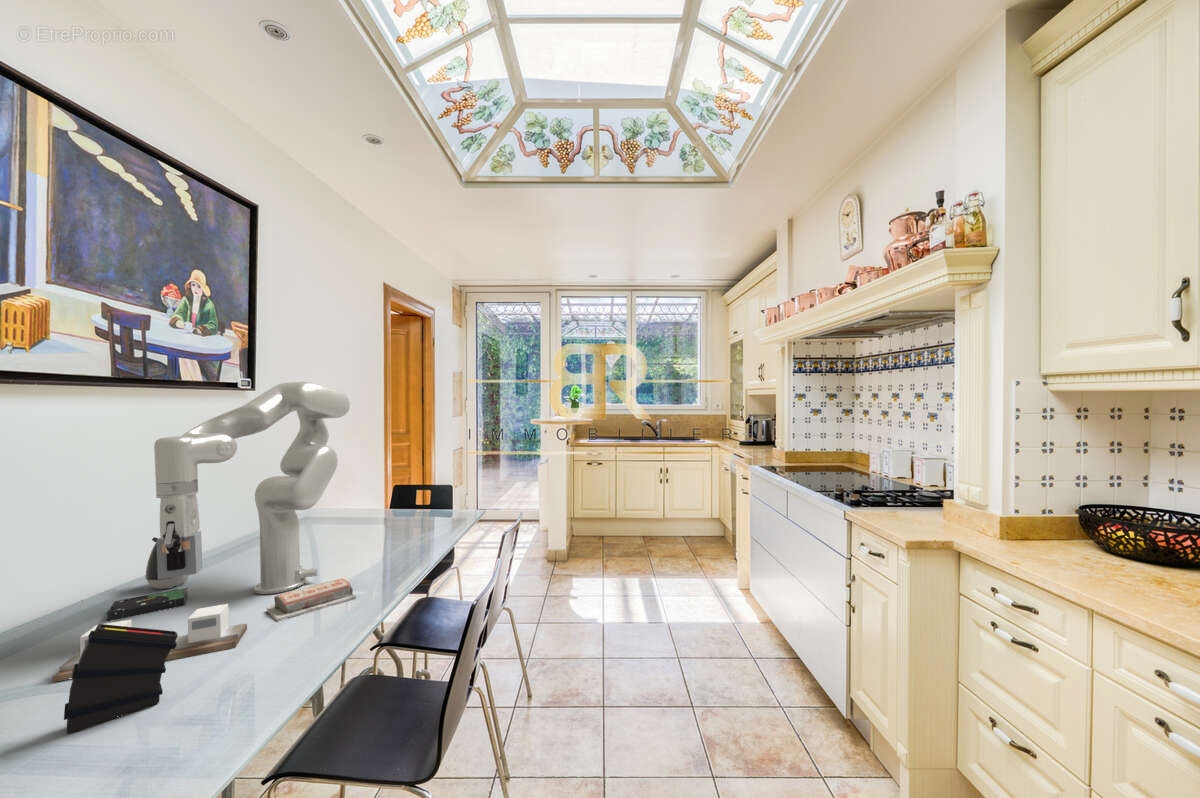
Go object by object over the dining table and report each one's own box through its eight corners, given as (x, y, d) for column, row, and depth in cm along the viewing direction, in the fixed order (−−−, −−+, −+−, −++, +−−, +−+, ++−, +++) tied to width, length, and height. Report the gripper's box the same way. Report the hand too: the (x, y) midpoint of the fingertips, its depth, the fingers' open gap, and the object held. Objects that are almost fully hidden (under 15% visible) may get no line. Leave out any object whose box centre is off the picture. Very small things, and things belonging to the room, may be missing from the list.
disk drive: (106, 624, 119) (186, 607, 128) (106, 613, 119) (185, 596, 128) (113, 611, 127) (188, 596, 136) (113, 601, 127) (187, 586, 136)
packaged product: (342, 574, 135) (356, 582, 128) (342, 592, 135) (356, 600, 128) (265, 593, 122) (276, 603, 115) (265, 613, 122) (277, 624, 115)
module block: (202, 568, 118) (201, 531, 118) (195, 573, 114) (194, 535, 114) (165, 573, 115) (164, 535, 115) (157, 579, 111) (156, 540, 111)
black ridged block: (35, 725, 75) (95, 622, 80) (142, 725, 83) (189, 632, 89) (34, 736, 72) (95, 629, 77) (143, 734, 81) (192, 638, 86)
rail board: (247, 628, 112) (246, 620, 112) (235, 647, 103) (235, 637, 103) (82, 658, 100) (82, 649, 100) (52, 682, 91) (52, 671, 91)
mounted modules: (228, 626, 109) (228, 603, 109) (220, 637, 103) (219, 614, 103) (96, 649, 99) (96, 625, 100) (79, 663, 94) (79, 637, 94)
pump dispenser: (171, 580, 150) (170, 530, 150) (200, 580, 148) (199, 530, 149) (135, 592, 140) (134, 539, 140) (166, 592, 138) (165, 539, 139)
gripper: (184, 492, 108) (188, 574, 108) (208, 482, 124) (211, 553, 124) (141, 496, 105) (144, 580, 105) (170, 485, 121) (173, 559, 121)
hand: (180, 565), depth 114 cm, fingers closed on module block, 4 cm apart
